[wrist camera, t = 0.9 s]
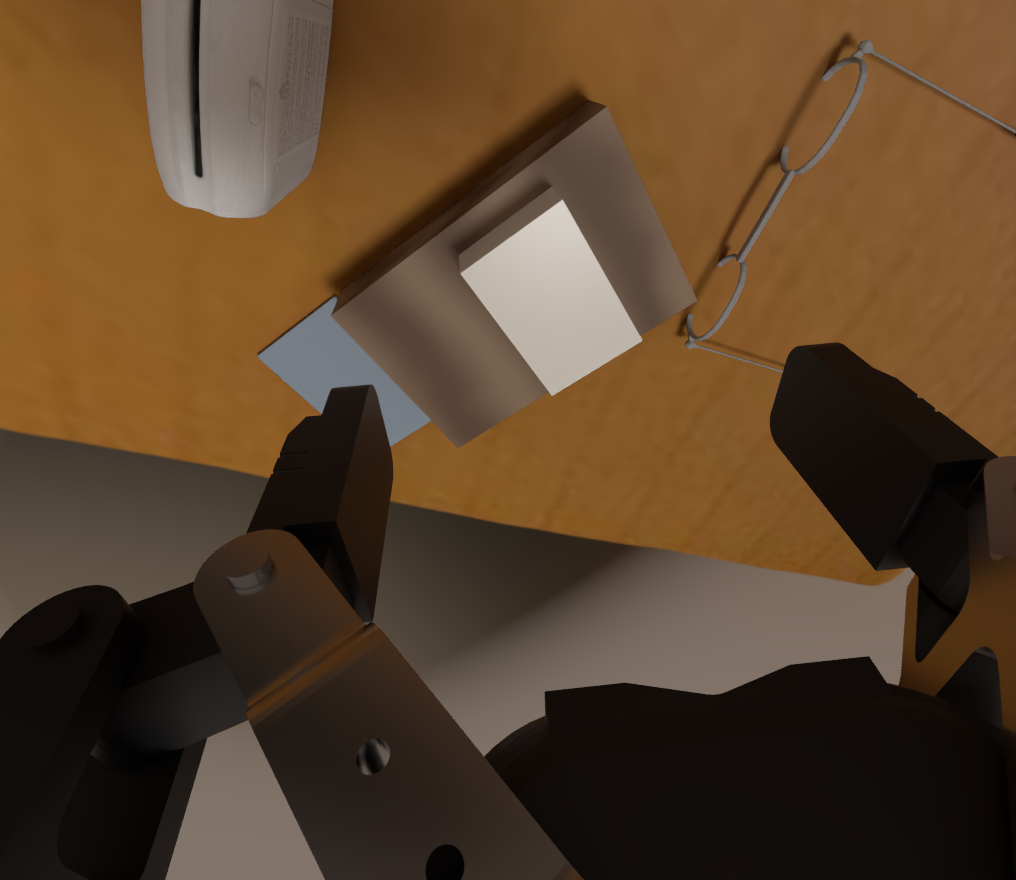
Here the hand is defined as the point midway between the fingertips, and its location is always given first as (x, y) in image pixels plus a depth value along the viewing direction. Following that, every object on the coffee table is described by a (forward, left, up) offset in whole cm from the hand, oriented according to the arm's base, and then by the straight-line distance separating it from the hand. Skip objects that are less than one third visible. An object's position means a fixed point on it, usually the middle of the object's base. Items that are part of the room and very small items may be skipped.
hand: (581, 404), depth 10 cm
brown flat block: (+3, +6, -25) cm, 26 cm away
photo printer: (+6, -10, -25) cm, 27 cm away
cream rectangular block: (+1, +6, -19) cm, 20 cm away
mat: (+16, +6, -25) cm, 30 cm away
